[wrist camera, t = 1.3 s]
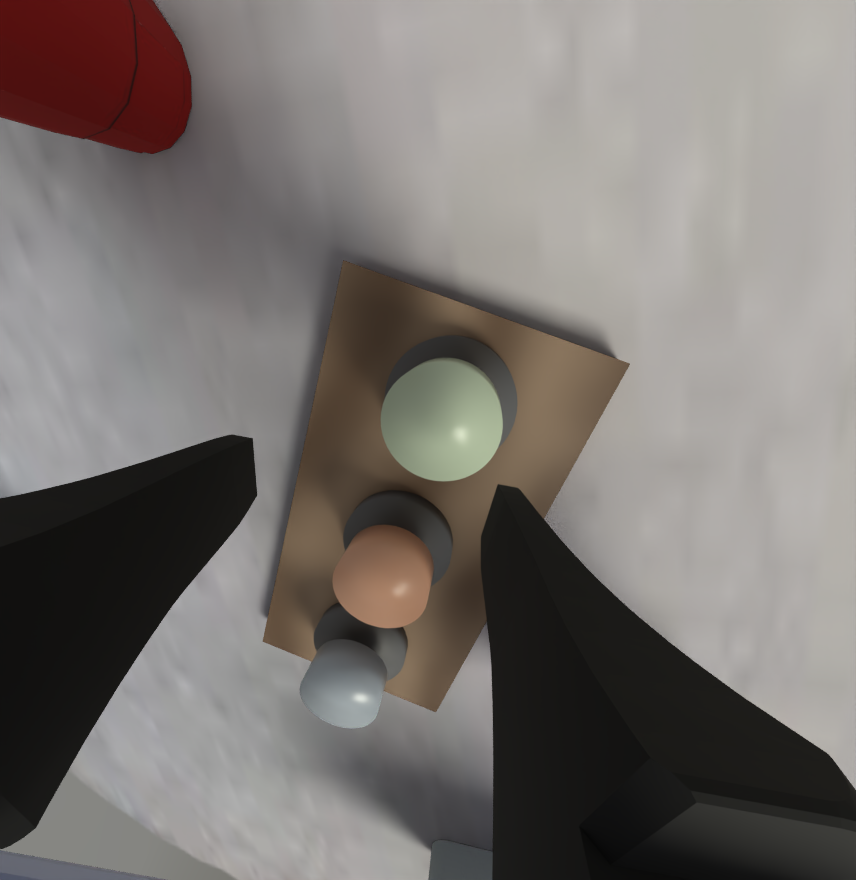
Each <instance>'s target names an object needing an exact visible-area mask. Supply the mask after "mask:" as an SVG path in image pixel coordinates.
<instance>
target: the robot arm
mask: <svg viewBox="0 0 856 880" xmlns="http://www.w3.org/2000/svg"><path fill="white" fill-rule="evenodd" d="M256 496H257V487H256V475H255V463H254V450H253V438H248V437H242V436H237V435H228V436H223V437H220V438H216V439H213V440H209V441H206V442H203V443H200V444H197V445H194V446H191V447H188V448H185V449H182V450H179V451H176V452H173V453H170V454H167V455H164V456H160V457H157V458H154V459H151V460H148V461H145V462H142V463H138V464H135V465H132V466H128V467H125V468H122V469H118V470H115V471H112V472H108V473H105V474H102V475H98V476H95V477H91V478H87V479H84V480H80V481H76V482H72V483H68V484H64V485H60V486H56V487H51V488H47V489H43V490H39V491H34V492H30V493H25V494H21V495H16V496H11V497H5V498H0V849H3V848H5V847H8V846H11V845H12V844H14V843H15V842H17V841H19V840H20V839H22V838H24V837H25V836H26V835H27V834H28V833H30V832H31V831H32V830H34V829H35V828H36V827H37V825H38V823H39V821H40V819H41V817H42V816H43V814H44V812H45V810H46V808H47V806H48V805H49V803H50V801H51V799H52V798H53V796H54V794H55V792H56V791H57V789H58V787H59V785H60V783H61V782H62V780H63V778H64V777H65V775H66V773H67V771H68V770H69V768H70V766H71V764H72V763H73V761H74V759H75V757H76V756H77V754H78V752H79V750H80V749H81V747H82V745H83V743H84V742H85V740H86V738H87V737H88V735H89V733H90V732H91V730H92V728H93V727H94V725H95V724H96V722H97V720H98V719H99V717H100V715H101V714H102V712H103V710H104V709H105V707H106V706H107V704H108V702H109V701H110V699H111V697H112V696H113V694H114V692H115V691H116V689H117V688H118V686H119V684H120V683H121V681H122V680H123V678H124V677H125V675H126V674H127V672H128V671H129V669H130V668H131V666H132V664H133V663H134V661H135V660H136V658H137V657H138V655H139V654H140V652H141V651H142V649H143V648H144V646H145V644H146V643H147V642H148V640H149V639H150V637H151V636H152V634H153V633H154V631H155V630H156V629H157V627H158V626H159V624H160V623H161V621H162V620H163V618H164V617H165V615H166V614H167V613H168V611H169V610H170V608H171V607H172V605H173V604H174V603H175V602H176V600H177V599H178V598H179V596H180V595H181V594H182V593H183V591H184V590H185V589H186V588H187V586H188V585H189V584H190V583H191V582H192V580H193V579H194V578H195V577H196V576H197V575H198V573H199V572H200V571H201V570H202V569H203V567H204V566H205V565H206V564H207V563H208V561H209V560H210V559H211V558H212V557H213V555H214V554H215V553H216V552H217V551H218V549H219V548H220V547H221V546H222V545H223V543H224V542H225V541H226V540H227V539H228V537H229V536H230V535H231V534H232V533H233V531H234V530H235V529H236V528H237V526H238V525H239V524H240V522H241V521H242V519H243V518H244V516H245V515H246V513H247V511H248V510H249V508H250V506H251V505H252V503H253V501H254V500H255V498H256ZM481 576H482V585H483V593H484V601H485V610H486V618H487V626H488V634H489V642H490V652H491V664H492V698H493V864H492V880H856V790H855V788H854V787H853V786H852V784H851V783H850V782H849V780H848V779H847V778H846V776H845V775H844V774H843V772H842V771H841V770H840V768H839V767H838V766H837V764H836V763H835V762H834V760H833V759H832V758H831V757H830V756H829V755H828V754H827V753H826V752H824V751H823V750H821V749H820V748H818V747H817V746H815V745H814V744H812V743H811V742H809V741H808V740H806V739H805V738H803V737H802V736H800V735H799V734H797V733H796V732H794V731H793V730H791V729H790V728H788V727H787V726H785V725H784V724H782V723H781V722H779V721H778V720H776V719H775V718H773V717H772V716H770V715H769V714H767V713H766V712H764V711H763V710H761V709H760V708H758V707H757V706H755V705H754V704H752V703H751V702H749V701H748V700H746V699H745V698H744V697H742V696H741V695H739V694H738V693H736V692H735V691H734V690H732V689H731V688H730V687H728V686H727V685H725V684H724V683H723V682H721V681H720V680H719V679H717V678H716V677H715V676H713V675H712V674H710V673H709V672H708V671H706V670H705V669H704V668H702V667H701V666H700V665H698V664H697V663H695V662H694V661H693V660H692V659H690V658H689V657H688V656H686V655H685V654H684V653H682V652H681V651H680V650H679V649H677V648H676V647H675V646H673V645H672V644H671V643H670V642H668V641H667V640H666V639H665V638H664V637H662V636H661V635H660V634H659V633H657V632H656V631H655V630H654V629H653V628H651V627H650V626H649V625H648V624H647V623H645V622H644V621H643V620H642V619H641V618H639V617H638V616H637V615H636V614H635V613H634V612H632V611H631V610H630V609H629V608H628V607H627V606H626V605H624V604H623V603H622V602H621V601H620V600H619V599H618V598H617V597H616V596H615V595H614V594H613V593H612V592H611V591H609V590H608V589H607V588H606V587H605V586H604V585H603V584H602V583H601V582H600V581H599V580H598V579H597V578H596V577H595V576H594V575H593V574H592V573H591V572H590V571H589V570H588V569H587V568H586V567H585V566H584V565H583V564H582V563H581V562H580V560H579V559H578V558H577V557H576V556H575V555H574V554H573V553H572V552H571V551H570V550H569V549H568V547H567V546H566V545H565V544H564V543H563V542H562V541H561V539H560V538H559V537H558V536H557V535H556V534H555V532H554V531H553V530H552V529H551V527H550V526H549V525H548V524H547V523H546V521H545V520H544V519H543V518H542V516H541V515H540V514H539V513H538V511H537V510H536V509H535V508H534V506H533V505H532V504H531V503H530V501H529V500H528V499H527V497H526V496H525V495H524V494H523V493H522V491H521V490H520V489H519V488H516V487H511V486H506V485H500V484H498V485H497V488H496V491H495V494H494V497H493V500H492V503H491V507H490V510H489V513H488V516H487V519H486V522H485V525H484V528H483V531H482V535H481ZM0 880H165V879H160V878H155V877H149V876H143V875H137V874H131V873H126V872H120V871H115V870H109V869H103V868H98V867H92V866H86V865H81V864H75V863H69V862H64V861H58V860H52V859H46V858H40V857H35V856H29V855H24V854H18V853H12V852H7V851H1V850H0Z"/></svg>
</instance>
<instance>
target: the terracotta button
mask: <svg viewBox="0 0 856 880" xmlns="http://www.w3.org/2000/svg"><path fill="white" fill-rule="evenodd" d="M433 572H434V564H433V559H432V556H431V553H430V551H429V550H428V548H427V546H426V545H425V544H424V543H423V542H422V541H421V540H420V539H419V538H418V537H417V536H416V535H414V534H413V533H411V532H409V531H407V530H405V529H403V528H400V527H397V526H392V525H375V526H371V527H368V528H366V529H364V530H362V531H360V532H359V533H358V534H357V535H356V536H355V537H354V538H353V539H352V541H351V543H350V544H349V546H348V548H347V549H346V551H345V553H344V554H343V556H342V558H341V559H340V561H339V562H338V564H337V566H336V567H335V570H334V573H333V579H332V583H333V589H334V592H335V595H336V597H337V599H338V601H339V602H340V604H341V605H342V606H343V607H344V608H345V610H346V611H347V612H349V613H350V614H351V615H352V616H354V617H355V618H357V619H358V620H360V621H362V622H364V623H366V624H369V625H372V626H376V627H381V628H398V627H403V626H406V625H408V624H410V623H412V622H414V621H415V620H417V619H418V618H419V617H420V616H421V615H422V613H423V612H424V610H425V608H426V605H427V601H428V596H429V591H430V587H431V582H432V577H433Z"/></svg>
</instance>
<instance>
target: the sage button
mask: <svg viewBox="0 0 856 880" xmlns="http://www.w3.org/2000/svg"><path fill="white" fill-rule="evenodd" d="M381 430H382V435H383V438H384V441H385V443H386V445H387V448H388V449H389V451H390V453H391V454H392V456H393V457H394V458H395V459H396V460H397V461H398V462H399V463H400V464H401V465H402V466H403V467H404V468H405V469H407V470H408V471H410V472H412V473H413V474H415V475H417V476H420V477H422V478H425V479H428V480H434V481H454V480H459V479H463V478H466V477H468V476H470V475H472V474H474V473H476V472H477V471H479V470H480V469H481V468H483V467H484V466H485V465H486V464H487V463H488V462H489V461H490V460H491V458H492V457H493V455H494V454H495V452H496V450H497V448H498V446H499V443H500V441H501V436H502V430H503V419H502V411H501V405H500V400H499V396H498V393H497V390H496V388H495V386H494V385H493V383H492V382H491V380H490V379H489V377H488V376H487V375H486V374H485V373H484V372H483V371H481V370H480V369H479V368H478V367H476V366H474V365H473V364H471V363H469V362H466V361H464V360H460V359H456V358H435V359H432V360H428V361H426V362H423V363H421V364H419V365H418V366H416V367H414V368H413V369H412V370H410V371H409V372H407V373H406V374H404V375H403V376H402V377H400V378H399V379H398V380H397V381H396V382H395V383H394V384H393V386H392V387H391V389H390V390H389V392H388V393H387V395H386V397H385V400H384V403H383V406H382V411H381Z"/></svg>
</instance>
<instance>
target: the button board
mask: <svg viewBox="0 0 856 880" xmlns="http://www.w3.org/2000/svg"><path fill="white" fill-rule="evenodd" d="M435 358H456V359H460V360H464V361H466V362H469V363H471V364H473V365H474V366H476V367H478V368H479V369H480V370H481V371H483V372H484V373H485V374H486V375H487V376H488V377H489V379H490V380H491V382H492V383H493V385H494V386H495V388H496V390H497V393H498V396H499V400H500V405H501V411H502V419H503V430H502V436H501V441H500V443H499V446H498V448H497V450H496V452H495V454H494V455H493V457H492V458H491V460H490V461H489V462H488V463H487V464H486V465H485V466H484V467H483V468H481V469H480V470H479V471H477V472H476V473H474V474H472V475H470V476H468V477H466V478H463V479H459V480H454V481H434V480H428V479H425V478H422V477H420V476H417V475H415V474H413V473H412V472H410V471H408V470H407V469H405V468H404V467H403V466H402V465H401V464H400V463H399V462H398V461H397V460H396V459H395V458H394V457H393V456H392V454H391V453H390V451H389V449H388V448H387V445H386V443H385V441H384V438H383V435H382V430H381V411H382V406H383V403H384V400H385V397H386V395H387V393H388V392H389V390H390V389H391V387H392V386H393V384H394V383H395V382H396V381H397V380H398V379H399V378H400V377H402V376H403V375H404V374H406V373H407V372H409V371H410V370H412V369H413V368H414V367H416V366H418V365H419V364H421V363H423V362H426V361H428V360H432V359H435ZM629 365H630V364H629V363H626V362H624V361H621V360H618V359H615V358H613V357H610V356H607V355H604V354H601V353H599V352H596V351H593V350H590V349H588V348H585V347H582V346H579V345H577V344H574V343H571V342H568V341H565V340H563V339H560V338H557V337H554V336H552V335H549V334H546V333H543V332H541V331H538V330H535V329H532V328H529V327H527V326H524V325H521V324H518V323H516V322H513V321H510V320H507V319H505V318H502V317H499V316H496V315H493V314H491V313H488V312H485V311H482V310H480V309H477V308H474V307H471V306H469V305H466V304H463V303H460V302H457V301H455V300H452V299H449V298H446V297H444V296H441V295H438V294H435V293H433V292H430V291H427V290H424V289H421V288H419V287H416V286H413V285H410V284H408V283H405V282H402V281H399V280H397V279H394V278H391V277H388V276H385V275H383V274H380V273H377V272H374V271H372V270H369V269H366V268H363V267H361V266H358V265H355V264H352V263H350V262H347V261H344V260H343V264H342V268H341V273H340V278H339V283H338V287H337V292H336V297H335V302H334V306H333V311H332V316H331V321H330V325H329V330H328V335H327V339H326V344H325V349H324V354H323V358H322V363H321V368H320V373H319V377H318V382H317V387H316V391H315V396H314V401H313V406H312V410H311V415H310V420H309V425H308V429H307V434H306V439H305V444H304V448H303V453H302V458H301V462H300V467H299V472H298V477H297V481H296V486H295V491H294V496H293V500H292V505H291V510H290V515H289V519H288V524H287V529H286V533H285V538H284V543H283V548H282V552H281V557H280V562H279V567H278V571H277V576H276V581H275V586H274V590H273V595H272V600H271V604H270V609H269V614H268V619H267V623H266V628H265V633H264V638H263V642H265V643H268V644H270V645H273V646H275V647H278V648H280V649H282V650H285V651H287V652H290V653H292V654H295V655H297V656H300V657H302V658H304V659H307V660H309V661H313V659H314V657H315V655H316V653H317V651H318V649H319V648H320V647H321V646H322V645H323V644H324V643H326V642H328V641H331V640H336V639H346V640H352V641H356V642H359V643H361V644H363V645H365V646H367V647H369V648H370V649H372V650H373V651H374V652H376V653H377V654H378V655H379V656H380V658H381V659H382V660H383V662H384V664H385V666H386V668H387V674H388V676H387V681H386V685H385V688H384V691H385V692H388V693H390V694H393V695H395V696H397V697H400V698H402V699H405V700H407V701H410V702H412V703H415V704H417V705H419V706H422V707H424V708H427V709H429V710H432V711H434V712H436V711H437V709H438V708H439V706H440V704H441V702H442V700H443V699H444V697H445V695H446V693H447V691H448V690H449V688H450V686H451V684H452V682H453V681H454V679H455V677H456V675H457V673H458V672H459V670H460V668H461V666H462V665H463V663H464V661H465V659H466V657H467V656H468V654H469V652H470V650H471V648H472V647H473V645H474V643H475V641H476V639H477V638H478V636H479V634H480V632H481V630H482V629H483V627H484V625H485V623H486V621H487V618H486V610H485V601H484V593H483V585H482V576H481V535H482V531H483V528H484V525H485V522H486V519H487V516H488V513H489V510H490V507H491V503H492V500H493V497H494V494H495V491H496V488H497V485H498V484H500V485H506V486H511V487H516V488H519V489H520V490H521V491H522V493H523V494H524V495H525V496H526V497H527V499H528V500H529V501H530V503H531V504H532V505H533V506H534V508H535V509H536V510H537V511H538V513H539V514H540V515H541V516H542V518H543V519H544V517H545V516H546V514H547V512H548V510H549V508H550V507H551V505H552V503H553V501H554V500H555V498H556V496H557V494H558V492H559V491H560V489H561V487H562V485H563V483H564V482H565V480H566V478H567V476H568V474H569V473H570V471H571V469H572V467H573V465H574V464H575V462H576V460H577V458H578V456H579V455H580V453H581V451H582V449H583V448H584V446H585V444H586V442H587V440H588V439H589V437H590V435H591V433H592V431H593V430H594V428H595V426H596V424H597V422H598V421H599V419H600V417H601V415H602V413H603V412H604V410H605V408H606V406H607V404H608V403H609V401H610V399H611V397H612V396H613V394H614V392H615V390H616V388H617V387H618V385H619V383H620V381H621V379H622V378H623V376H624V374H625V372H626V370H627V369H628V367H629ZM375 525H392V526H397V527H400V528H403V529H405V530H407V531H409V532H411V533H413V534H414V535H416V536H417V537H418V538H419V539H420V540H421V541H422V542H423V543H424V544H425V545H426V546H427V548H428V550H429V551H430V553H431V556H432V559H433V564H434V572H433V577H432V582H431V587H430V591H429V596H428V601H427V605H426V608H425V610H424V612H423V613H422V615H421V616H420V617H419V618H418V619H417V620H415V621H414V622H412V623H410V624H408V625H406V626H403V627H398V628H381V627H376V626H372V625H369V624H366V623H364V622H362V621H360V620H358V619H357V618H355V617H354V616H352V615H351V614H350V613H349V612H347V611H346V610H345V608H344V607H343V606H342V605H341V604H340V602H339V601H338V599H337V597H336V595H335V592H334V589H333V583H332V579H333V573H334V570H335V567H336V566H337V564H338V562H339V561H340V559H341V558H342V556H343V554H344V553H345V551H346V549H347V548H348V546H349V544H350V543H351V541H352V539H353V538H354V537H355V536H356V535H357V534H358V533H359V532H360V531H362V530H364V529H366V528H368V527H371V526H375Z"/></svg>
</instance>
